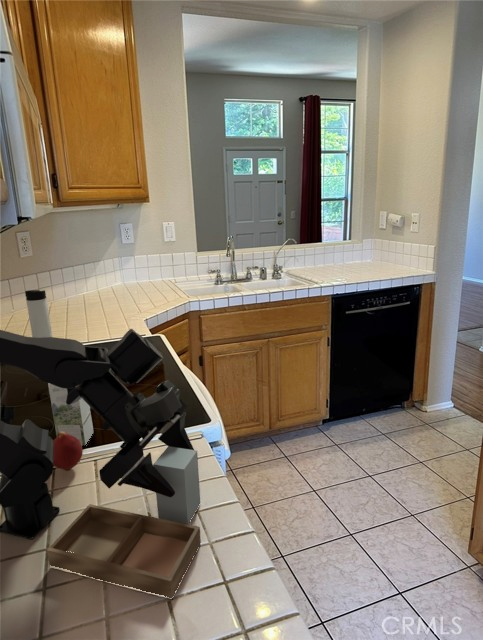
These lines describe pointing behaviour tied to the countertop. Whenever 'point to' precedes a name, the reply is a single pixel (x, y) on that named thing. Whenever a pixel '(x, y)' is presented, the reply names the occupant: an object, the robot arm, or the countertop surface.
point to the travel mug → (38, 313)
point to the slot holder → (127, 549)
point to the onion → (66, 451)
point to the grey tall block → (179, 484)
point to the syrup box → (71, 415)
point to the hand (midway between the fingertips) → (185, 477)
